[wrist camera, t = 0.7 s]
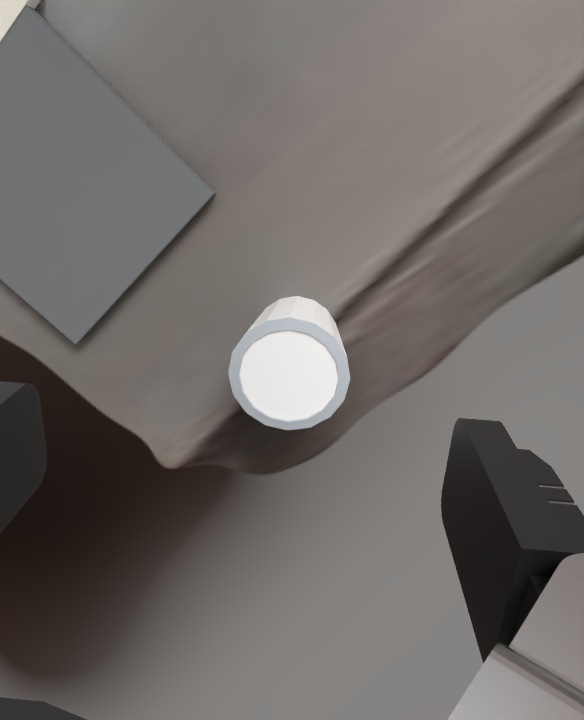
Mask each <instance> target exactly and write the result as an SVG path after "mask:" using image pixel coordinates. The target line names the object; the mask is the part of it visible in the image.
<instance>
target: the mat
mask: <svg viewBox="0 0 584 720" xmlns="http://www.w3.org/2000/svg"><path fill="white" fill-rule="evenodd" d="M40 1H41V0H0V279H1V280H2V281H3V282H4V283H5V284H6V285H8V286H9V287H10V288H11V289H12V290H13V291H14V292H16V293H17V294H18V295H19V296H20V297H21V298H23V299H24V300H25V301H26V302H27V303H28V304H29V305H31V306H32V307H33V308H34V309H35V310H36V311H37V312H39V313H40V314H41V315H42V316H43V317H44V318H46V319H47V320H48V321H49V322H50V323H51V324H52V325H54V326H55V327H56V328H57V329H58V330H59V331H60V332H62V333H63V334H64V335H65V336H66V337H67V338H68V339H70V340H71V341H72V342H73V343H74V344H75V345H76V344H77V343H78V342H79V341H81V340H82V339H83V338H84V337H85V335H86V334H87V333H88V332H89V331H90V330H91V329H92V328H93V327H94V326H95V325H96V323H97V322H98V321H99V320H100V319H101V318H102V317H103V316H104V315H105V314H106V312H107V311H108V310H109V309H110V308H111V307H112V306H113V305H114V304H115V303H116V302H117V300H118V299H119V298H120V297H121V296H122V295H123V294H124V293H125V292H126V291H127V290H128V288H129V287H130V286H131V285H132V284H133V283H134V282H135V281H136V280H137V279H138V278H139V276H140V275H141V274H142V273H143V272H144V271H145V270H146V269H147V268H148V267H149V265H150V264H151V263H152V262H153V261H154V260H155V259H156V258H157V257H158V256H159V255H160V253H161V252H162V251H163V250H164V249H165V248H166V247H167V246H168V245H169V244H170V243H171V241H172V240H173V239H174V238H175V237H176V236H177V235H178V234H179V233H180V232H181V231H182V229H183V228H184V227H185V226H186V225H187V224H188V223H189V222H190V221H191V220H192V218H193V217H194V216H195V215H196V214H197V213H198V212H199V211H200V210H201V209H202V208H203V206H204V205H205V204H206V203H207V202H208V201H209V200H210V199H211V198H212V197H213V196H214V194H215V193H216V192H215V191H214V190H213V189H212V188H211V187H210V186H209V185H208V184H207V183H206V182H205V181H204V180H203V179H202V178H201V177H200V176H199V175H198V174H197V173H196V172H195V171H194V170H193V169H192V168H191V167H190V166H189V165H188V164H187V163H186V162H185V161H184V160H183V159H182V158H181V157H180V156H179V155H178V154H177V153H176V152H175V151H174V150H173V149H172V148H171V146H170V145H169V144H168V143H167V142H166V141H165V140H164V139H163V138H162V137H161V136H160V135H159V134H158V133H157V132H156V131H155V130H154V129H153V128H152V127H151V126H150V125H149V124H148V123H147V122H146V121H145V120H144V119H143V118H142V117H141V116H140V115H139V114H138V113H137V112H136V111H135V110H134V109H133V108H132V107H131V106H130V105H129V104H128V103H127V102H126V101H125V100H124V99H123V98H122V97H121V96H120V95H119V94H118V93H117V92H116V91H115V90H114V89H113V88H112V87H111V86H110V85H109V84H108V83H107V82H106V81H105V80H104V79H103V78H102V77H101V76H100V75H99V73H98V72H97V71H96V70H95V69H94V68H93V67H92V66H91V65H90V64H89V63H88V62H87V61H86V60H85V59H84V58H83V57H82V56H81V55H80V54H79V53H78V52H77V51H76V50H75V49H74V48H73V47H72V46H71V45H70V44H69V43H68V42H67V41H66V40H65V39H64V38H63V37H62V36H61V35H60V34H59V33H58V32H57V31H56V30H55V29H54V28H53V27H52V26H51V25H50V24H49V23H48V22H47V21H46V20H45V19H44V18H43V17H42V16H41V15H40V14H39V13H38V12H37V11H36V10H35V8H36V7H37V5H38V4H39V3H40Z"/></svg>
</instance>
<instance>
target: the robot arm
mask: <svg viewBox="0 0 584 720" xmlns="http://www.w3.org/2000/svg"><path fill="white" fill-rule="evenodd" d="M46 464H47V452H46V445H45V437H44V429H43V422H42V414H41V407H40V400H39V394H38V391H37V389H36V388H35V386H34V385H32V384H26V383H13V382H1V381H0V533H1V532H2V531H3V529H4V528H5V527H6V526H7V525H8V523H9V522H10V521H11V520H12V519H13V517H14V516H15V515H16V514H17V512H18V511H19V510H20V509H21V508H22V506H23V505H24V504H25V503H26V502H27V500H28V499H29V498H30V497H31V495H32V494H33V493H34V492H35V491H36V490H37V488H38V487H39V485H40V484H41V482H42V480H43V477H44V474H45V470H46ZM563 487H564V486H563V484H562V482H561V481H560V479H559V478H558V476H557V475H556V473H555V472H554V470H553V469H552V467H551V466H550V465H548V464H547V463H546V462H544V461H543V460H542V459H540V458H539V457H538V456H536V455H535V454H534V453H532V452H531V451H530V450H523V449H517V448H516V446H515V444H514V443H513V441H512V439H511V438H510V436H509V434H508V432H507V431H506V429H505V427H504V426H503V424H502V423H501V422H499V421H489V420H476V419H463V418H459V419H458V420H457V421H456V423H455V426H454V430H453V435H452V440H451V445H450V451H449V456H448V462H447V467H446V472H445V477H444V483H443V489H442V499H441V510H442V519H443V524H444V528H445V531H446V535H447V538H448V542H449V545H450V549H451V552H452V555H453V559H454V563H455V566H456V570H457V573H458V577H459V580H460V584H461V587H462V591H463V594H464V597H465V601H466V604H467V608H468V612H469V615H470V618H471V622H472V625H473V629H474V632H475V636H476V639H477V643H478V646H479V650H480V653H481V657H482V660H483V665H482V667H481V669H480V670H479V671H478V673H477V675H476V676H475V678H474V679H473V681H472V682H471V684H470V686H469V687H468V689H467V690H466V692H465V693H464V695H463V696H462V698H461V700H460V701H459V703H458V704H457V706H456V707H455V709H454V711H453V712H452V714H451V715H450V717H449V718H448V720H584V516H583V514H582V513H581V511H580V510H579V508H578V507H577V506H576V505H574V500H573V499H572V497H571V496H570V494H569V493H568V491H567V490H566V489H564V488H563ZM0 720H86V719H84V718H81V717H79V716H77V715H74V714H72V713H69V712H67V711H64V710H62V709H60V708H57V707H55V706H52V705H50V704H47V703H45V702H40V701H30V700H20V699H9V698H0Z"/></svg>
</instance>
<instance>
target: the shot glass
mask: <svg viewBox="0 0 584 720" xmlns="http://www.w3.org/2000/svg"><path fill="white" fill-rule="evenodd" d="M228 375H229V379H230V383H231V388H232V392H233V395H234V397H235V398H236V399H237V401H238V402H239V404H240V405H241V406H242V408H243V409H244V410H245V412H246V413H247V414H249V415H250V416H252V417H253V418H255V419H256V420H258V421H260V422H261V423H263V424H264V425H266V426H271V427H275V428H280V429H284V430H294V429H302V428H310V427H312V426H314V425H316V424H318V423H320V422H322V421H324V420H325V419H327V418H329V417H331V415H332V414H333V413H334V412H335V411H336V409H337V408H338V407H339V406H340V405H341V403H342V402H343V401H344V399H345V396H346V392H347V389H348V385H349V382H350V374H349V367H348V360H347V355H346V352H345V350H344V347H343V344H342V341H341V338H340V335H339V332H338V329H337V326H336V323H335V321H334V320H333V318H332V317H331V315H330V313H329V312H328V310H327V309H326V308H324V307H323V306H321V305H320V304H319V303H317V302H316V301H314V300H312V299H307V298H303V297H299V296H295V297H288V298H282V299H279V300H278V301H276V302H274V303H273V304H271V305H269V306H268V307H267V308H266V309H265V310H264V311H263V312H262V314H261V315H260V316H259V317H258V319H257V320H256V321H255V322H254V323H253V325H252V326H251V327H250V328H249V330H248V331H247V332H246V333H245V335H244V336H243V337H242V339H241V340H240V342H239V343H238V344H237V346H236V347H235V349H234V350H233V351H232V356H231V361H230V366H229V372H228Z"/></svg>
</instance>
